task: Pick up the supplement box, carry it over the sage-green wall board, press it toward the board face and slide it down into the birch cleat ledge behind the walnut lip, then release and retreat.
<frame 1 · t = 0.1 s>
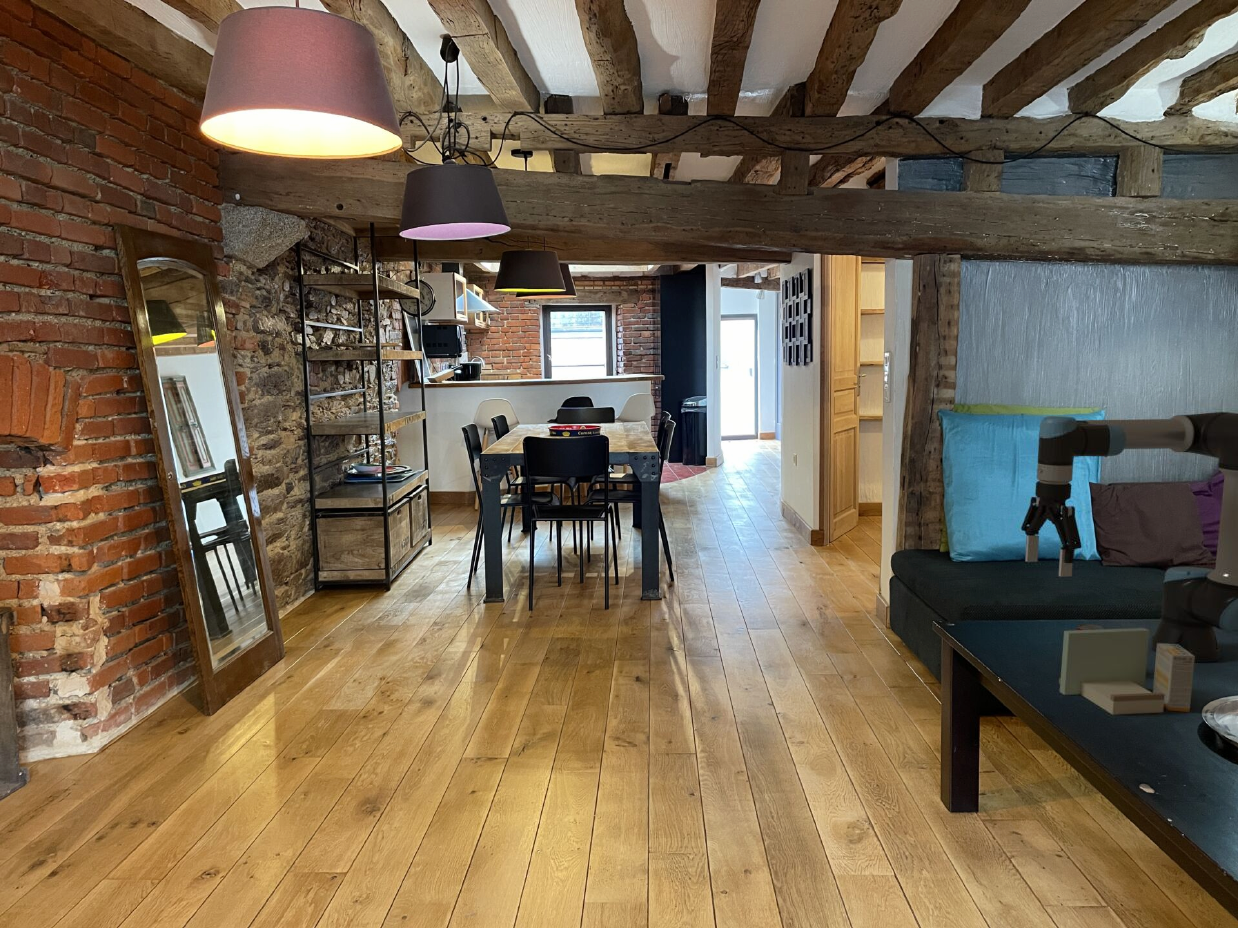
hand: (1047, 568, 200), 28 cm above the table, fingers open, 13 cm apart
wall board: (1102, 691, 196), on the table
supplement box: (1170, 704, 189), on the table
beverage can: (1087, 673, 207), on the table
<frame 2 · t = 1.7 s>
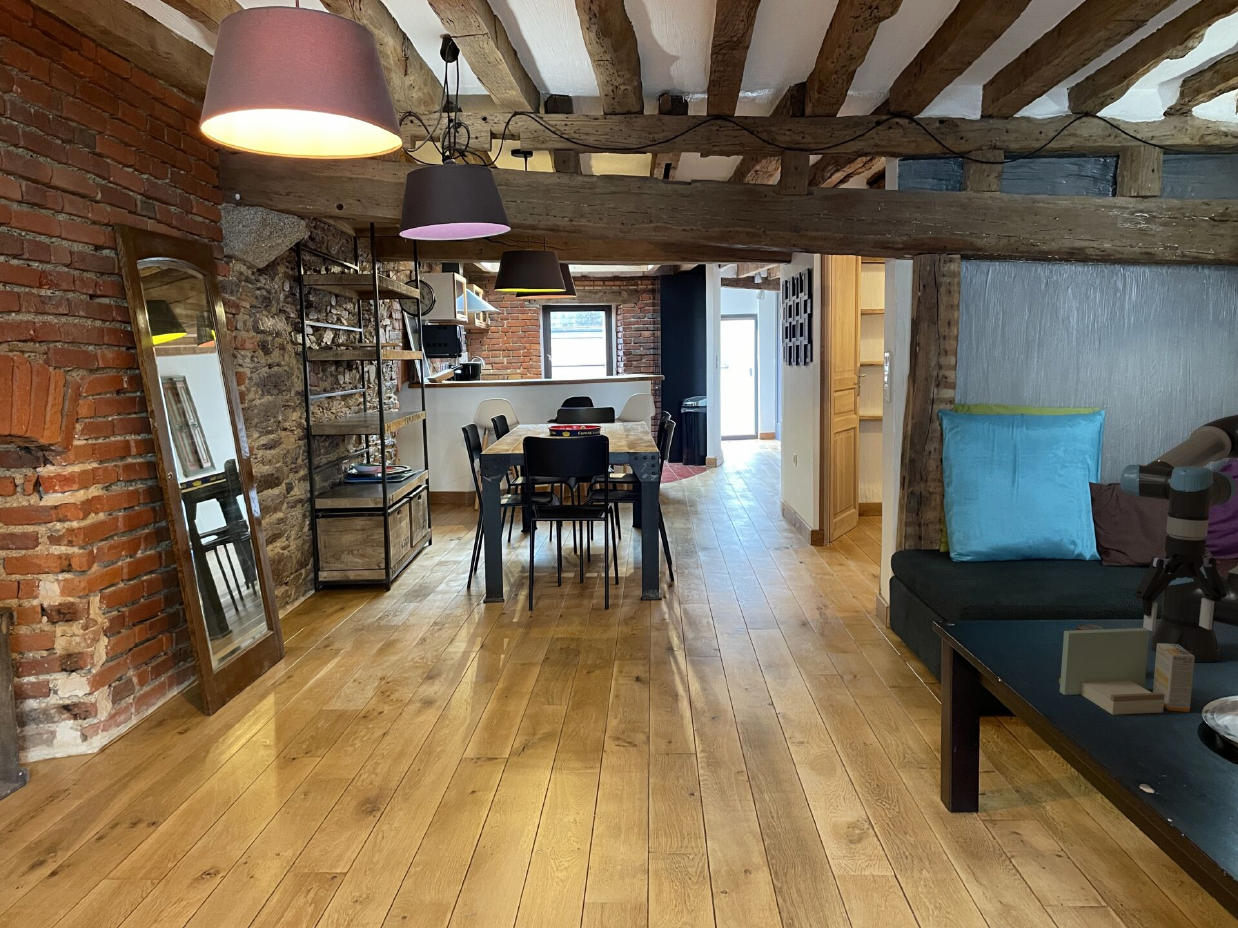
hand: (1177, 628, 186), 18 cm above the table, fingers open, 13 cm apart
nothing on the table moved.
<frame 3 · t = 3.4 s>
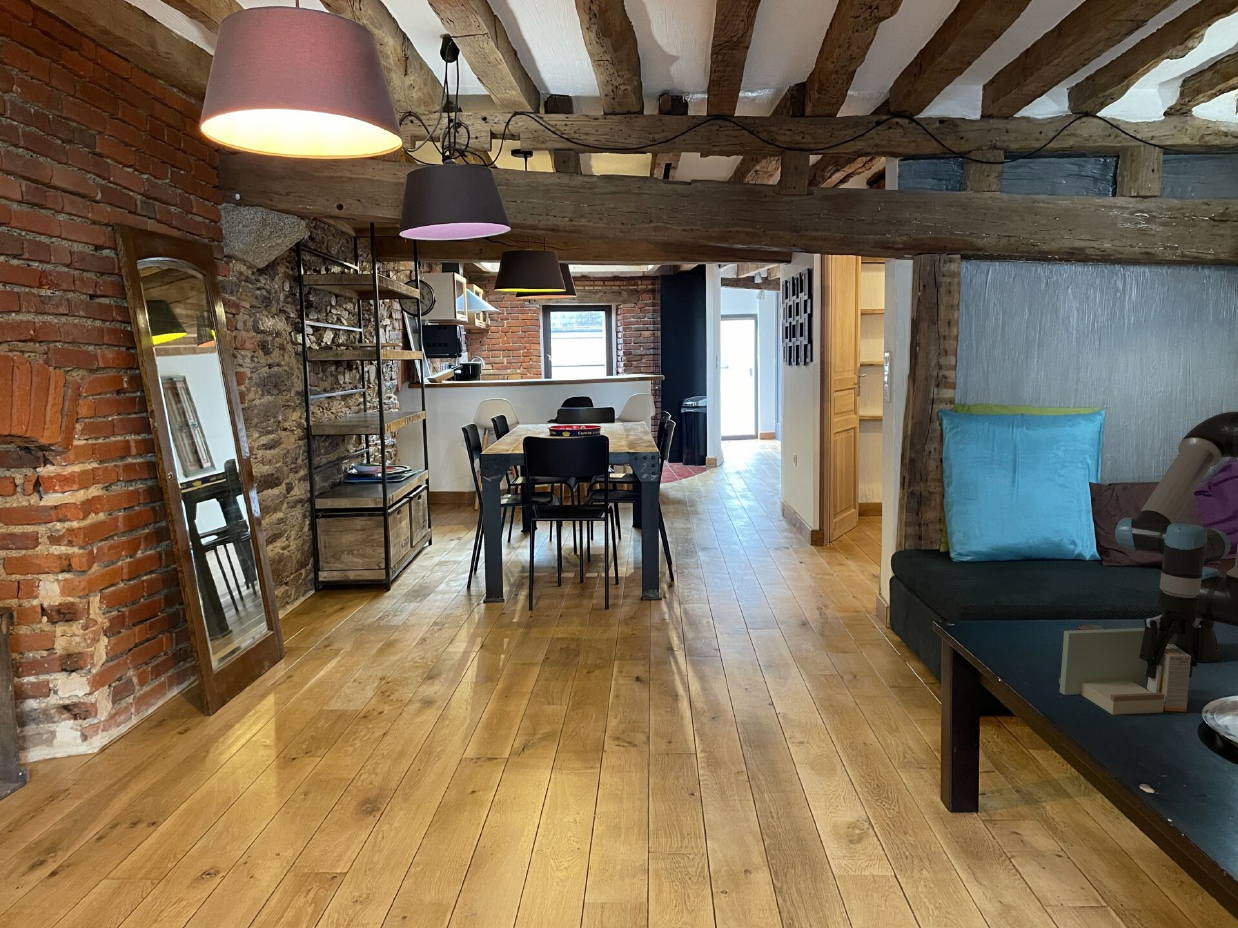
hand: (1167, 691, 188), 3 cm above the table, fingers open, 6 cm apart
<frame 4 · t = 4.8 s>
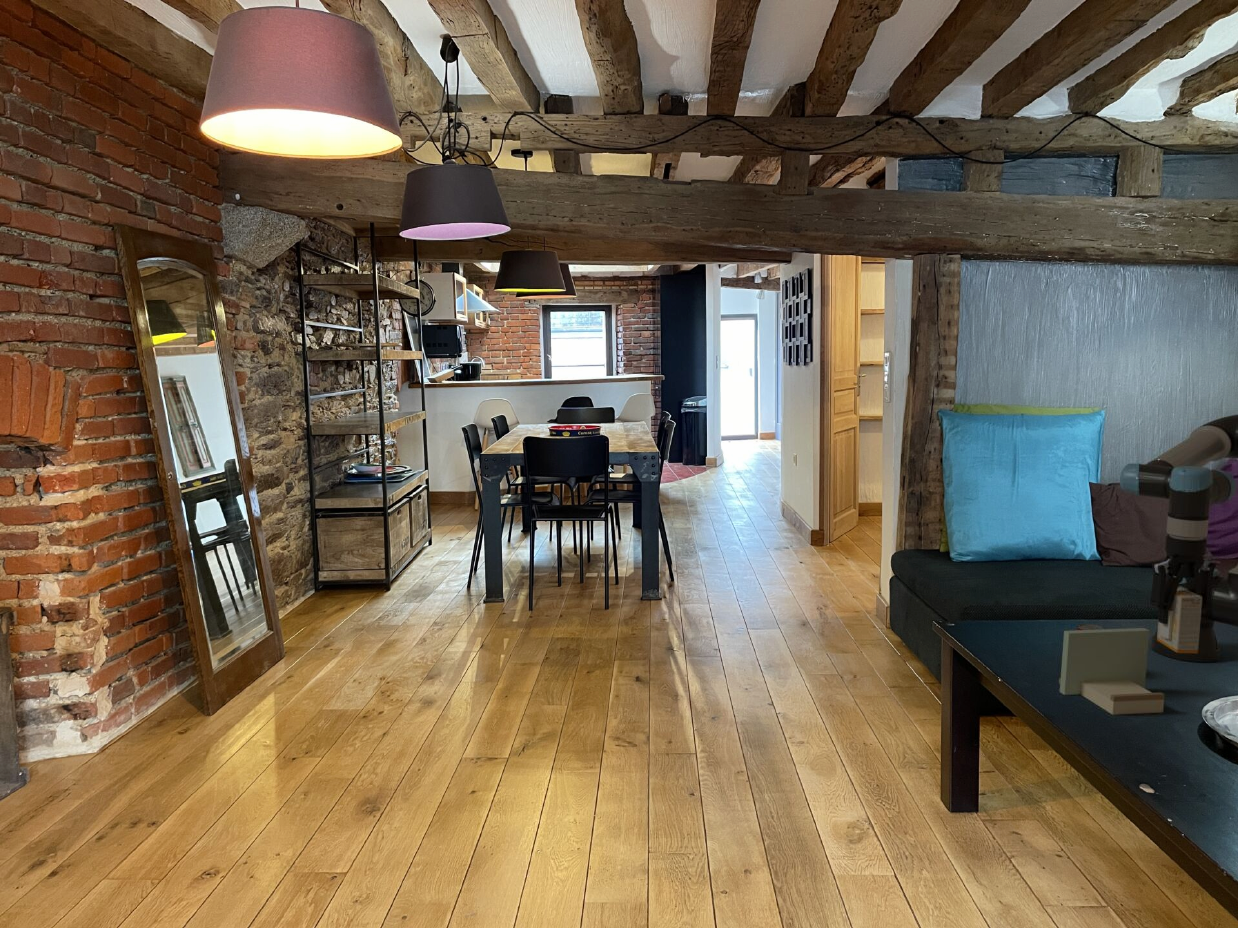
hand: (1178, 635, 187), 16 cm above the table, fingers closed on supplement box, 5 cm apart
supplement box: (1177, 647, 187), point 13 cm above the table, touching gripper
everything else where it was.
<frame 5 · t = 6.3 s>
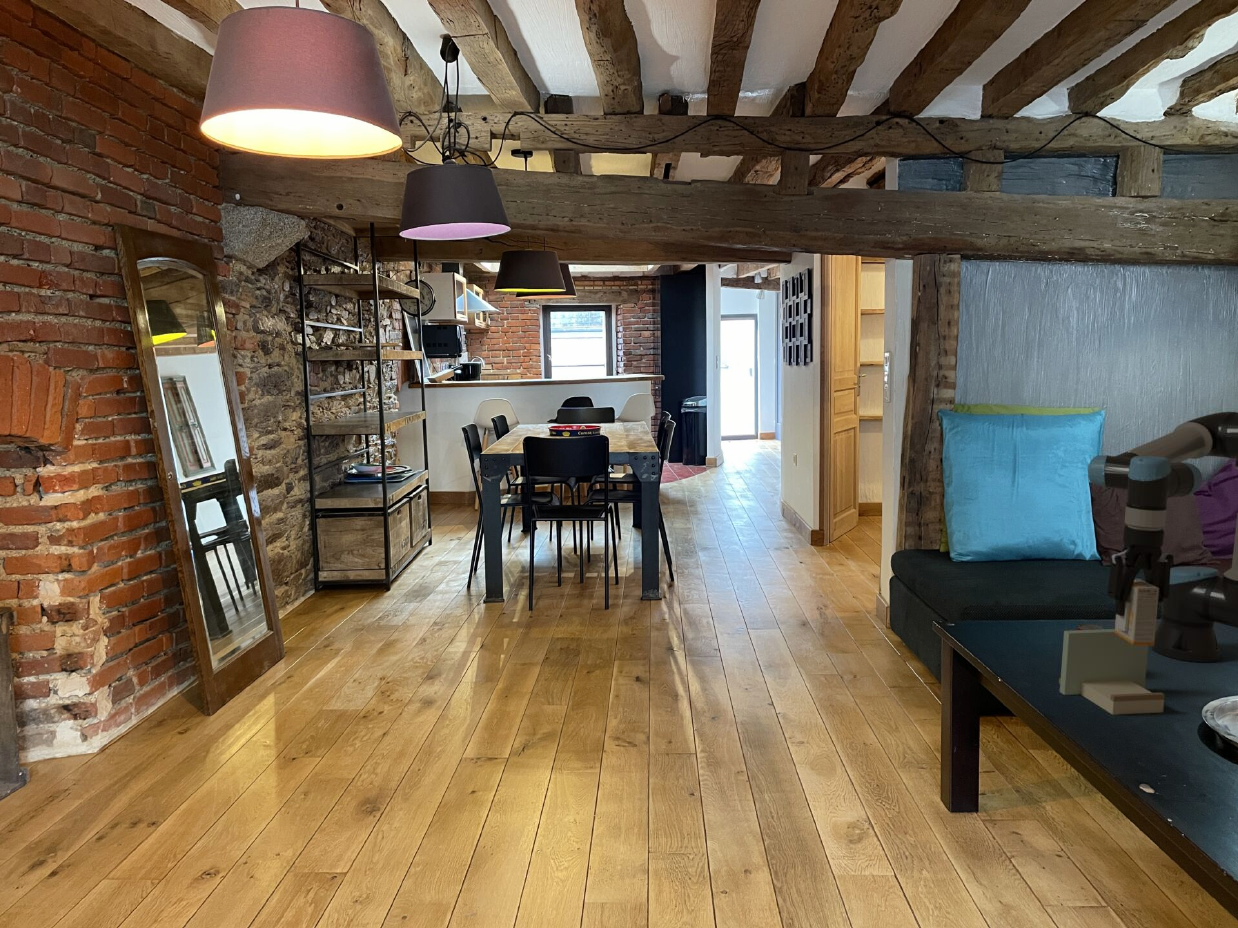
hand: (1134, 628, 184), 19 cm above the table, fingers closed on supplement box, 5 cm apart
supplement box: (1133, 640, 185), point 16 cm above the table, touching gripper
everything else where it was.
when the fingers open (6 cm above the table, at t = 8.9 s): supplement box stays where it is, resting on wall board.
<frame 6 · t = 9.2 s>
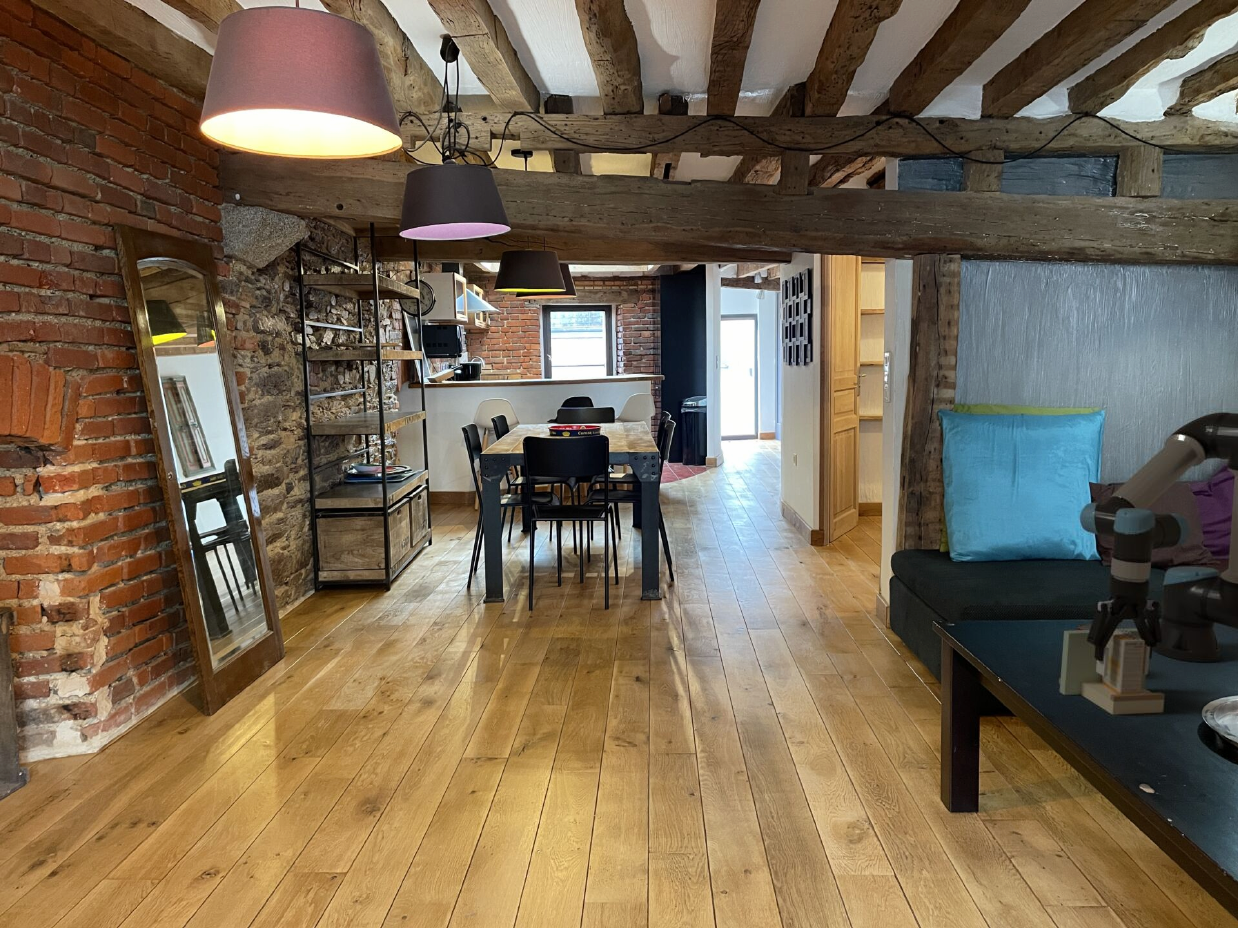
hand: (1121, 672, 189), 7 cm above the table, fingers open, 9 cm apart
supplement box: (1120, 690, 190), point 3 cm above the table, touching wall board
everything else where it was.
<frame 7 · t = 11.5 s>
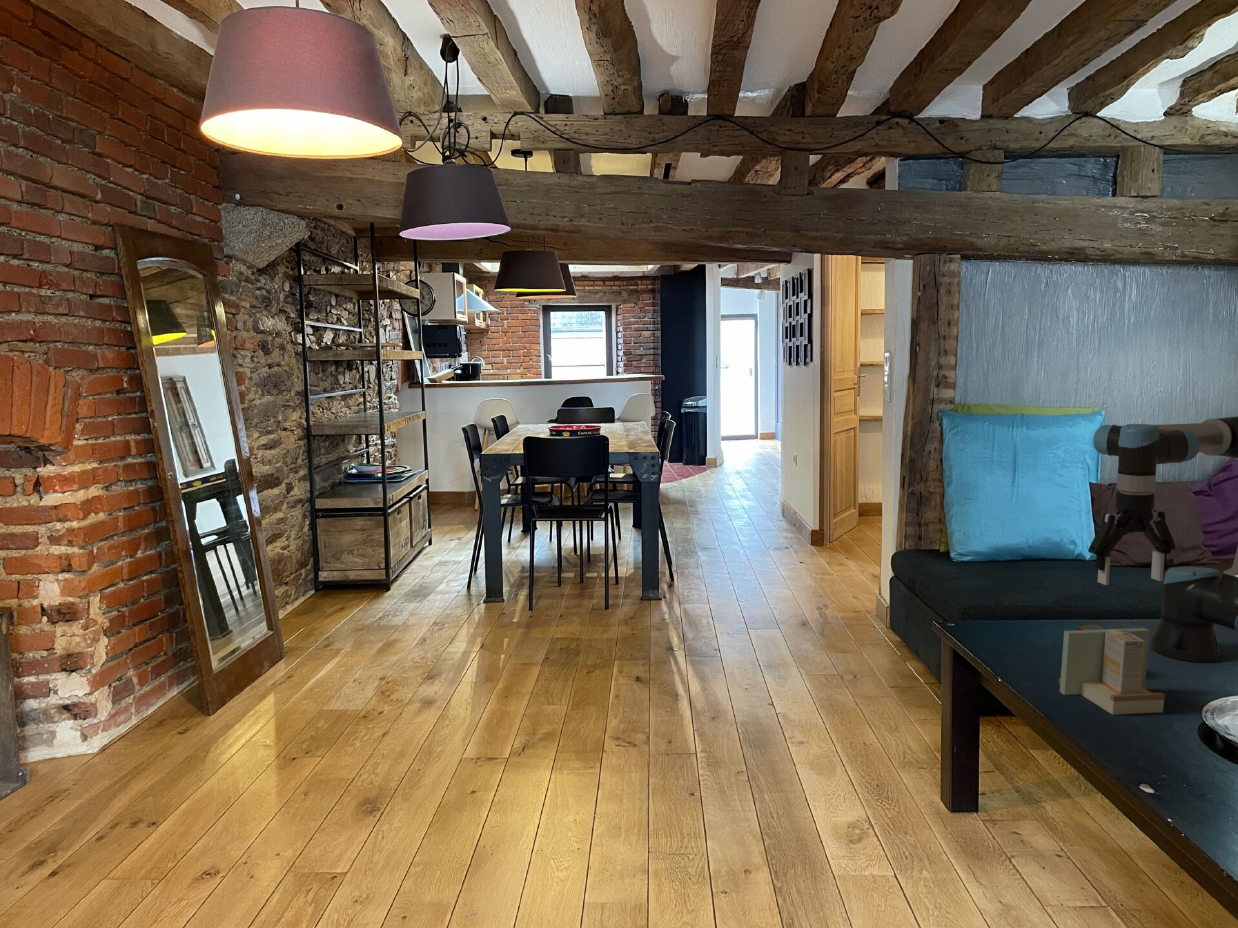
hand: (1130, 581, 193), 27 cm above the table, fingers open, 13 cm apart
nothing on the table moved.
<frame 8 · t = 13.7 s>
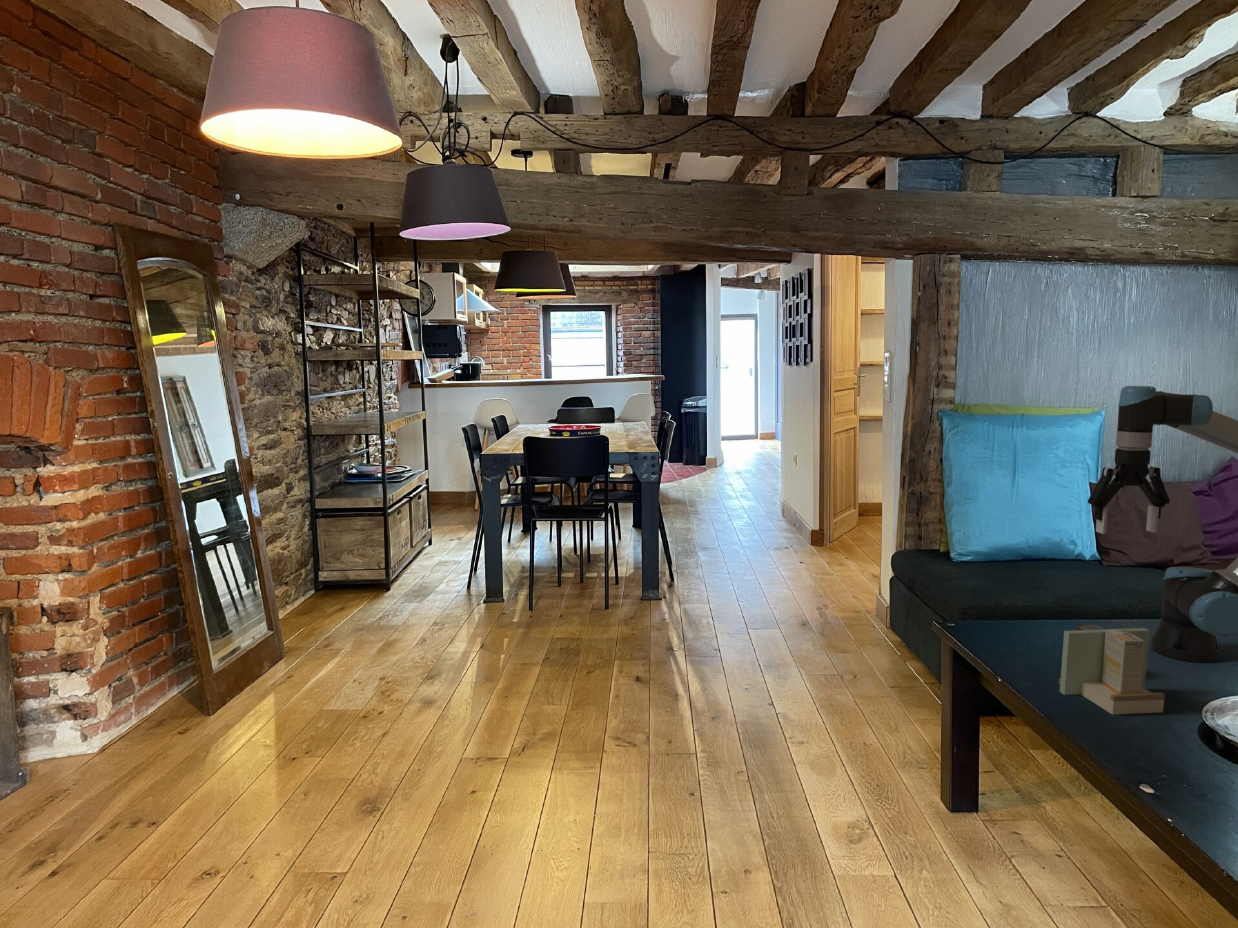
hand: (1126, 532, 208), 35 cm above the table, fingers open, 13 cm apart
nothing on the table moved.
at the end: supplement box inside the target area on the wall board (0.3 cm from its centre), point 2.8 cm above the wall board's base; supplement box tilted 0°; the gripper is holding nothing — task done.
